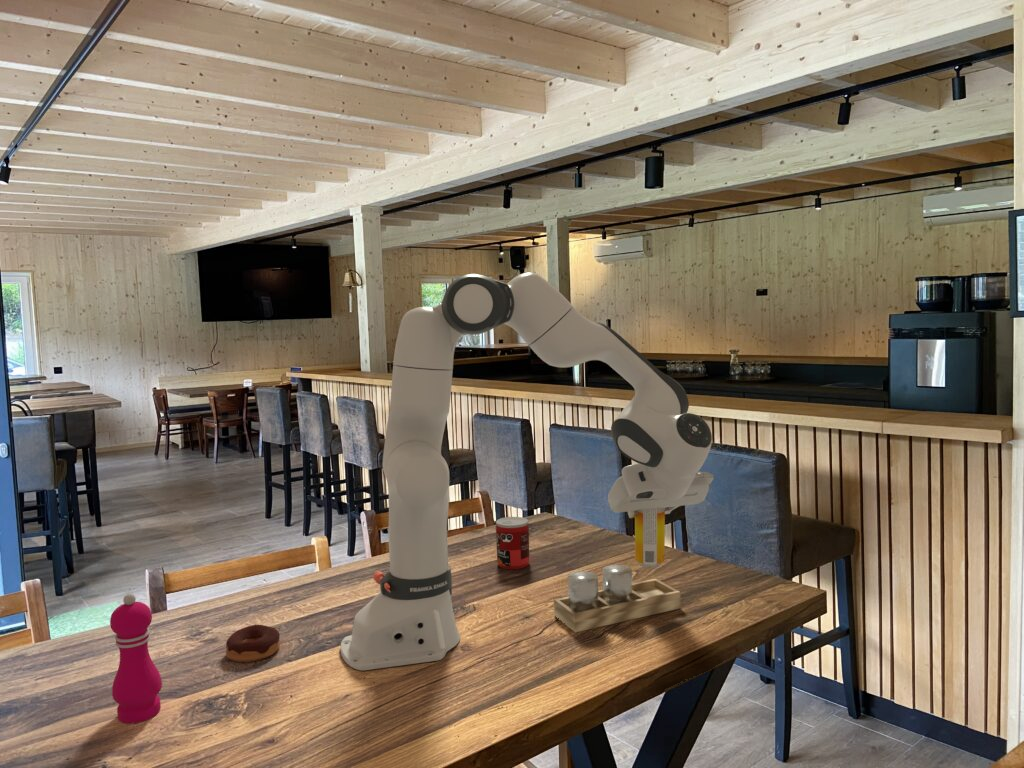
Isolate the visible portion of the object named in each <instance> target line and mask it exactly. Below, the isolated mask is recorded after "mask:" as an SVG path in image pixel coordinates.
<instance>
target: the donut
mask: <svg viewBox="0 0 1024 768" xmlns="http://www.w3.org/2000/svg"><path fill="white" fill-rule="evenodd" d="M280 634H281V633H280V632H279V631H278V630H277V629H276V627H271V626H268V625H265V624H264V625H263V624H252V625H248V626H245V627H243V628H241V629H240V628H239V629H238V630H236V631H235V632H233V633H232V634H231V635H230V636H229V638H228V639H227V640H226V643H225V645H226V646H225V648H226V650H225V656H226V658H228V659H229V660H230V661H233V662H239V663H252V662H257V661H260V660H263V659H265V658H268V657H270V656H272V655H273V654H274V653H275V652H277V650H279V648H280V647H281V640H280V636H281V635H280Z"/></svg>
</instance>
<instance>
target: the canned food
mask: <svg viewBox="0 0 1024 768" xmlns="http://www.w3.org/2000/svg"><path fill="white" fill-rule="evenodd" d="M529 524H530V523H529V520H528V518H525V517H520V516H507V517H500V518H499V519H497V520H496V522H495V537H496V538H495V539H496V543H495V544H496V562H497V565H498V567H500V569H501V568H502V569H505V570H519V569H523V568H527V566H529V564H530V532H529V531H530V527H529Z"/></svg>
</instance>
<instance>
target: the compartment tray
mask: <svg viewBox="0 0 1024 768" xmlns="http://www.w3.org/2000/svg"><path fill="white" fill-rule="evenodd" d="M598 600H599V608H596V609H592V610H587V611H583V612H578V613H576V612H575V611H573V610H572V609H571V608H569V597H568V596H566V597H565V596H564V597H560V598H555V599H554V600H553V601H554V602H553V605H554V607H553V608H554V611H553V612H554V614H553V615H554V617H555V616H556V617H557V619H558V618H559V619H558V620H559V621H560V620H561V621H562V622H561V621H560V622H561V623H562V624H564V623H565V624H564V625H565V626H566V625H567V627H568V628H569V629H570V630H571V631H573V632H574V633H579V632H582V631H587V630H591V629H595V628H596V629H597V628H601V627H604V626H608V625H613V624H617V623H622V622H623V623H624V622H626V621H630V620H636V619H640V618H643V617H644V618H645V617H648V616H652V615H653V616H654V615H656V614H657V615H658V614H661V613H666V612H671V611H674V610H678V609H681V606H682V605H681V604H682V603H681V591H680V590H678V589H676V588H674V587H672V586H671V585H668V584H666V583H665V582H663V581H661V580H659V579H657V578H653V579H651V578H650V579H647V580H643V581H637V582H632V601H628V602H624V603H619V604H615V605H611V604H609V603H608V602H606V601H605V600H603V589H600V590H599V589H598ZM556 617H555V618H556Z"/></svg>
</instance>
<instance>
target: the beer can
mask: <svg viewBox="0 0 1024 768" xmlns="http://www.w3.org/2000/svg"><path fill="white" fill-rule="evenodd" d="M637 511H638V516H637V517H635V518H634V560H635V561H636V562H637V564H638V566H640V567H644V568H658V567H661V566H662V565H663V563H664V562H665V559H666V558H665V556H666V555H665V554H666V553H665V551H666V546H665V545H666V543H665V542H666V541H665V540H666V539H665V537H666V536H665V535H666V533H665V532H666V529H665V528H666V522H665V520H666V514H665V507H664V508H654V509H645V510H637Z"/></svg>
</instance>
